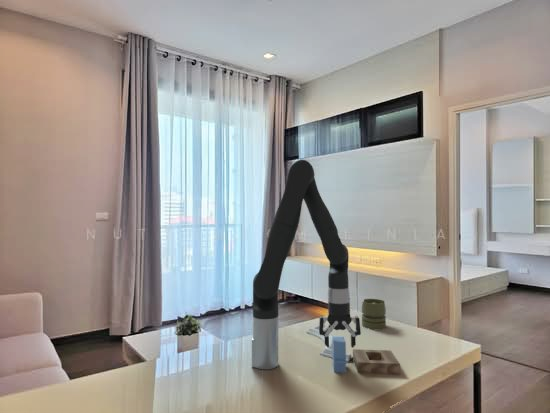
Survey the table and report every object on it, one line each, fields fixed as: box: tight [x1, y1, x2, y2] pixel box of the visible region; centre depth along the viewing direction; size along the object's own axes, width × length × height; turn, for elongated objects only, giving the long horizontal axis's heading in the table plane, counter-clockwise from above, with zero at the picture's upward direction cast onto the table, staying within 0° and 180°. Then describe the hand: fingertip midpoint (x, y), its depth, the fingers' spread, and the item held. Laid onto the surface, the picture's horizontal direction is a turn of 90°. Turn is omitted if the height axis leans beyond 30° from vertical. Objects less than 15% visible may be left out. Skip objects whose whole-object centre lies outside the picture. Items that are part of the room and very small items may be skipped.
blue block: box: [332, 336, 347, 373], centre depth 121 cm, size 4×9×10 cm, turn 175°
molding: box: [305, 324, 353, 363], centre depth 147 cm, size 42×12×3 cm, turn 7°
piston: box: [361, 298, 387, 330], centre depth 170 cm, size 11×12×11 cm
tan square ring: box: [352, 348, 401, 375], centre depth 122 cm, size 14×12×4 cm
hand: (340, 346), depth 121 cm, fingers open, 8 cm apart
